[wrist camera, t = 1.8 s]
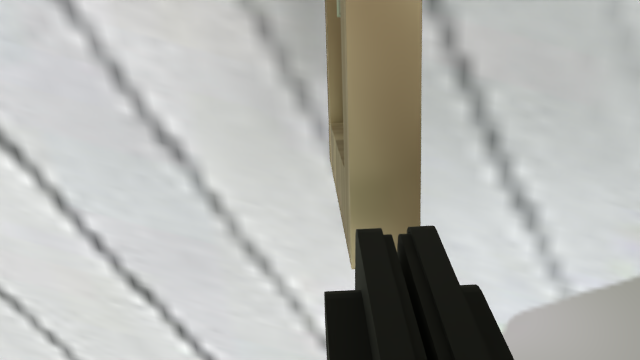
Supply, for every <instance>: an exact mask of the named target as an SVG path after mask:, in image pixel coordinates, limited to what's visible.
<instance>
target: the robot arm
mask: <svg viewBox="0 0 640 360" xmlns="http://www.w3.org/2000/svg"><path fill="white" fill-rule="evenodd" d="M324 296H325V327H326V349H327V360H514V359H513V356H512V354H511V352H510V350H509V348H508V346H507V344H506V342H505V339H504V337H503V335H502V333H501V331H500V329H499V327H498V325H497V323H496V320H495V318H494V316H493V314H492V312H491V310H490V308H489V306H488V303H487V301H486V299H485V297H484V295H483V293H482V291H481V289H480V288H479V286H477V285H459V282H458V280H457V277H456V275H455V273H454V270H453V268H452V266H451V263H450V261H449V258H448V256H447V254H446V251H445V249H444V247H443V244H442V242H441V240H440V237H439V235H438V232H437V230H436V228H435V226H415V227H408V228H407V234H399V235H398V244H397V251H396V247H395V244H394V240H393V237H392V235H391V234H386V235H383V231H382V229H381V228H370V229H356V233H355V290H349V291H328V292H324Z"/></svg>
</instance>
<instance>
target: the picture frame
mask: <svg viewBox="0 0 640 360" xmlns="http://www.w3.org/2000/svg"><path fill="white" fill-rule="evenodd" d="M325 18H326V51H327V83H328V115H329V148H330V162H331V167H332V172H333V177H334V182H335V187H336V192H337V197H338V202H339V207H340V212H341V217H342V222H343V227H344V233H345V238H346V243H347V248H348V253H349V258H350V263H351V268H352V269H355V233H356V229H370V228H381V229H382V231H383V235H386V234H391V235H392V237H393V240H394V244H395V247H396V251H397V244H398V235H399V234H407V228H408V227H415V226H420V194H421V57H422V0H325Z"/></svg>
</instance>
